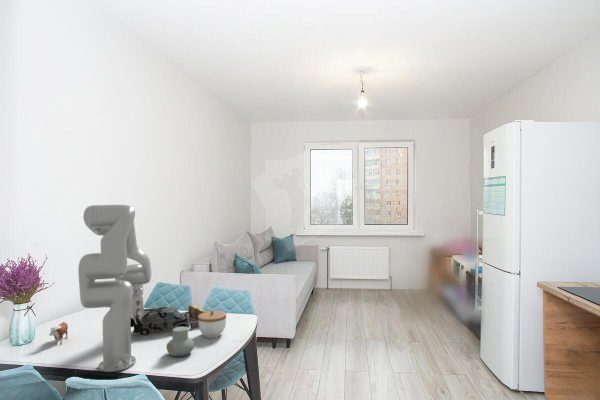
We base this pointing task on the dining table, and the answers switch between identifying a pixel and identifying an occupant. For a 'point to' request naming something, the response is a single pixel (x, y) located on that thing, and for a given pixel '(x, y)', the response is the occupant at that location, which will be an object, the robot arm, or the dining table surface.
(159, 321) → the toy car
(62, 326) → the bull figurine
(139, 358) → the dining table surface
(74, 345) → the dining table surface
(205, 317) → the lidded bowl
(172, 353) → the air freshener
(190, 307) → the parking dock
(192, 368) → the dining table surface
